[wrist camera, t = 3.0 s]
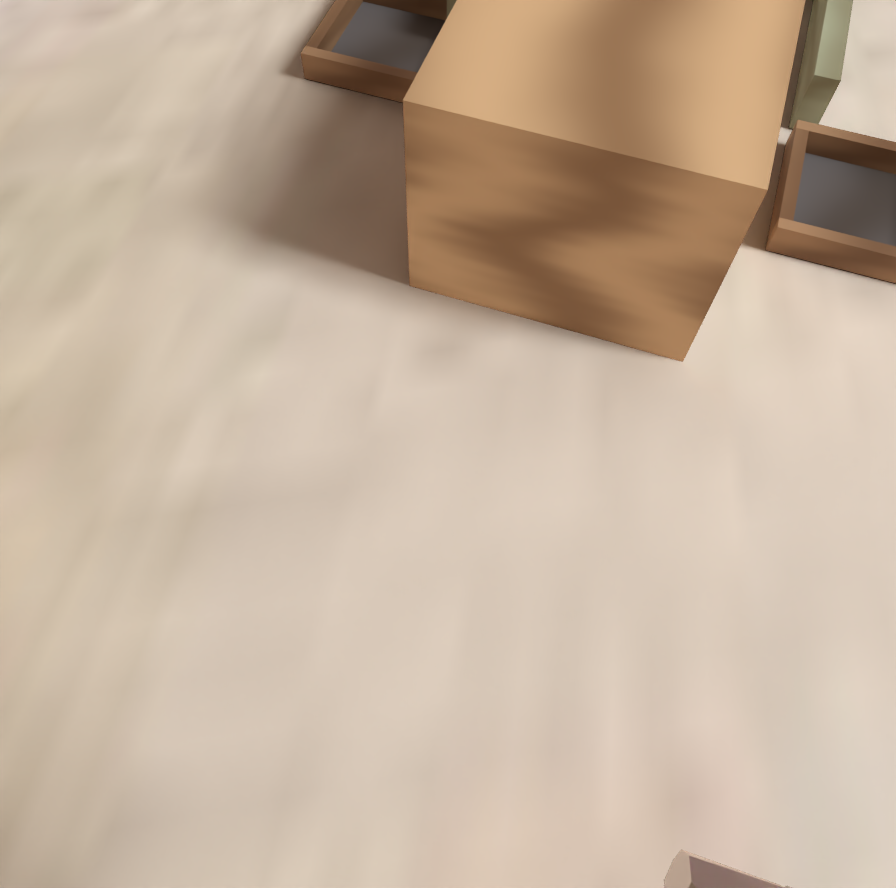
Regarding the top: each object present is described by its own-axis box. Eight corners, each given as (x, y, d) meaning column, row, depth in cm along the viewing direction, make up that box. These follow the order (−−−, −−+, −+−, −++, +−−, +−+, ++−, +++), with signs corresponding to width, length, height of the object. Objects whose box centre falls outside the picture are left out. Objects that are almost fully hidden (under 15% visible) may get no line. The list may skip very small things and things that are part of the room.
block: (409, 288, 29) (402, 100, 22) (490, 110, 33) (506, -93, 26) (681, 363, 28) (767, 190, 21) (727, 168, 32) (811, -30, 25)
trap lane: (275, 124, 33) (264, 70, 30) (419, -100, 40) (418, -156, 38) (930, 292, 29) (971, 244, 27) (947, 10, 37) (980, -44, 35)
